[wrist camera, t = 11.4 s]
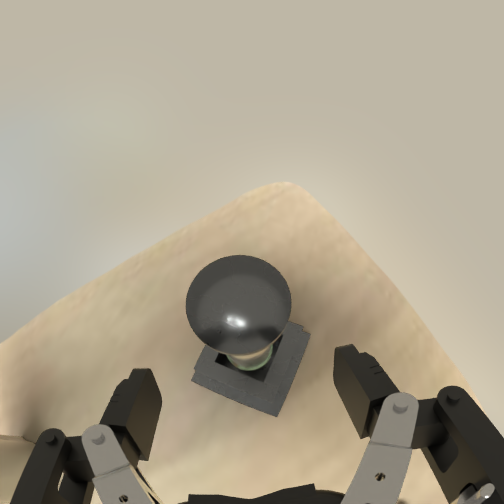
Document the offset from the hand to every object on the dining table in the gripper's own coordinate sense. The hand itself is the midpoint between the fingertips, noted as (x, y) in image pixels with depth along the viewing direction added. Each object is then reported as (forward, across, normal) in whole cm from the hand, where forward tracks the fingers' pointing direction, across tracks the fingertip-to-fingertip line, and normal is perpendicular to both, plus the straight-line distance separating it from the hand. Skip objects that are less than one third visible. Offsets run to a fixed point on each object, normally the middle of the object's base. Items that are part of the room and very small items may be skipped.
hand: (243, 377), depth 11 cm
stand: (+16, 0, +11) cm, 20 cm away
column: (+12, 0, +7) cm, 14 cm away
